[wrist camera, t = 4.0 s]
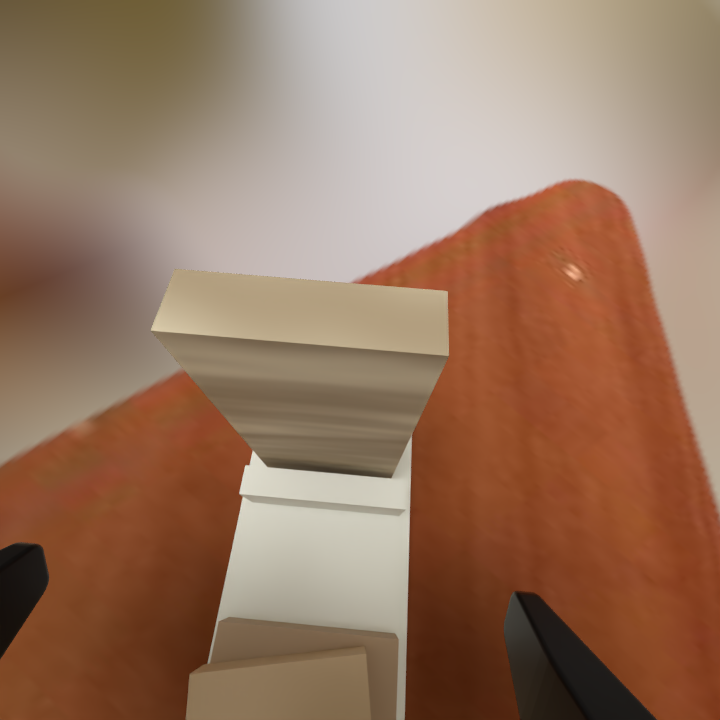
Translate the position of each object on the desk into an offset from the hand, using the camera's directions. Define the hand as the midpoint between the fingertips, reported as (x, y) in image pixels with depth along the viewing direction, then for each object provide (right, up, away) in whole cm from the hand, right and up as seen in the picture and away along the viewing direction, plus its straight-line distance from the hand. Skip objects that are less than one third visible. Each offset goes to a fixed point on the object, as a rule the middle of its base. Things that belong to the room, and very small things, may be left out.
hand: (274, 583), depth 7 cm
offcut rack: (0, -6, +11) cm, 12 cm away
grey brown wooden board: (0, -1, +12) cm, 12 cm away
